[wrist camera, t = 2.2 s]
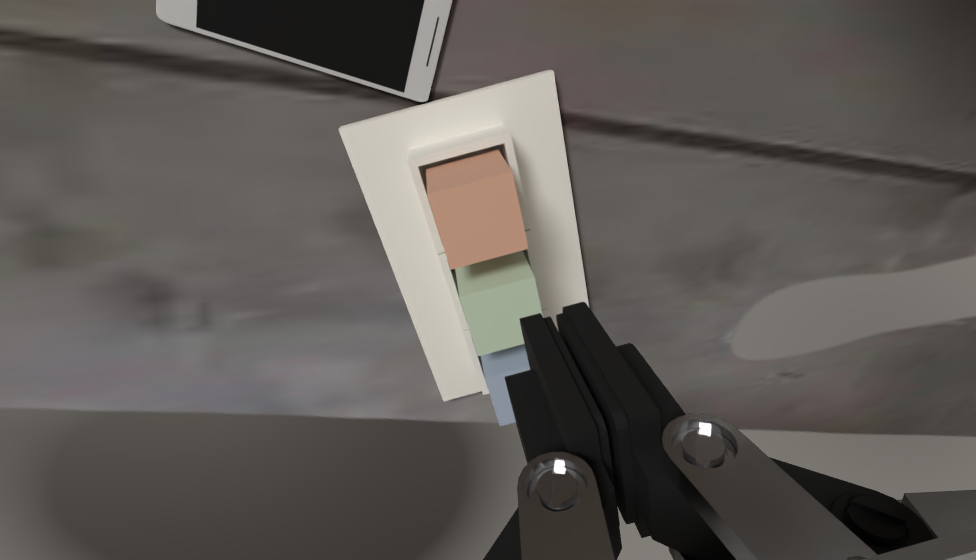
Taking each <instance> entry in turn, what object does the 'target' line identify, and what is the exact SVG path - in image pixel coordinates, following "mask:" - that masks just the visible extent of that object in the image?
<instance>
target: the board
mask: <svg viewBox="0 0 976 560" xmlns="http://www.w3.org/2000/svg"><path fill="white" fill-rule="evenodd" d="M339 132H340V135H341V137H342V140H343V142H344V145H345V148H346V150H347V153H348V155H349V158H350V160H351V163H352V166H353V168H354V171H355V173H356V176H357V179H358V181H359V184H360V186H361V189H362V192H363V194H364V197H365V199H366V202H367V204H368V207H369V210H370V212H371V215H372V217H373V220H374V223H375V225H376V228H377V230H378V233H379V235H380V238H381V241H382V243H383V246H384V248H385V251H386V254H387V256H388V259H389V261H390V264H391V267H392V269H393V272H394V274H395V277H396V279H397V282H398V285H399V287H400V290H401V292H402V295H403V298H404V300H405V303H406V305H407V308H408V311H409V313H410V316H411V318H412V321H413V323H414V326H415V329H416V331H417V334H418V336H419V339H420V342H421V344H422V347H423V349H424V352H425V354H426V357H427V360H428V362H429V365H430V367H431V370H432V373H433V375H434V378H435V380H436V383H437V386H438V388H439V391H440V393H441V396H442V398H443V401H447V400H451V399H454V398H458V397H462V396H466V395H469V394H473V393H477V392H480V391H482V393H483V395H484V394H488V393H489V390H488V387H487V383H486V380H485V376H484V371H483V365H482V360H481V356H478V355H477V352H476V349H475V345H474V342H473V339H472V336H471V333H470V330H469V326H468V323H467V320H466V317H465V314H464V310H463V307H462V304H461V301H460V298H459V291H458V285H457V278H456V271H455V269H452V270H451V269H450V266H449V263H448V260H447V256H446V253H445V250H444V247H443V244H442V241H441V237H440V234H439V231H438V228H437V225H436V222H435V218H434V215H433V212H432V209H431V206H430V202H429V199H428V196H427V181H426V169H428V168H432V167H436V166H439V165H443V164H447V163H450V162H454V161H458V160H462V159H465V158H469V157H473V156H476V155H480V154H484V153H487V152H491V151H495V150H499V152H500V153H501V155H502V156H503V158H504V160H505V161H506V163H507V164H508V166H509V167H510V169H511V171H512V173H513V178H514V183H515V187H516V192H517V197H518V201H519V206H520V211H521V216H522V220H523V225H524V230H525V234H526V239H527V244H528V248H529V249H526V250H523V253H524V255H525V257H526V259H527V261H528V264H529V266H530V268H531V270H532V272H533V275H534V277H535V281H536V286H537V291H538V295H539V300H540V305H541V309H542V314H543V318H546V317H549V316H550V317H551V318H552V320H553V322H554V324H555V326H556V328H557V330H558V326H557V320H556V315H557V314H561V313H563V311H562V309H563V307H565V306H569V305H572V304H576V303H580V302H585V303H586V304H587V305H588V307H589V303H588V296H587V290H586V283H585V277H584V270H583V263H582V257H581V250H580V243H579V237H578V230H577V223H576V217H575V210H574V203H573V197H572V190H571V184H570V177H569V170H568V164H567V157H566V150H565V144H564V137H563V130H562V124H561V117H560V110H559V104H558V97H557V90H556V84H555V77H554V71H552V70H546V71H543V72H539V73H535V74H532V75H528V76H524V77H521V78H517V79H513V80H510V81H506V82H502V83H498V84H495V85H491V86H487V87H484V88H480V89H476V90H473V91H469V92H465V93H462V94H458V95H454V96H451V97H447V98H443V99H440V100H436V101H432V102H429V103H425V104H421V105H418V106H414V107H410V108H406V109H403V110H399V111H395V112H392V113H388V114H384V115H381V116H377V117H373V118H370V119H366V120H362V121H359V122H355V123H351V124H348V125H344V126H341V127H340V128H339Z"/></svg>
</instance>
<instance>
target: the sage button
mask: <svg viewBox="0 0 976 560" xmlns="http://www.w3.org/2000/svg"><path fill="white" fill-rule="evenodd" d="M455 271H456V278H457V285H458V291H459V298H460V301H461V304H462V307H463V310H464V314H465V317H466V320H467V323H468V326H469V330H470V333H471V336H472V339H473V342H474V345H475V349H476V352H477V355H478V356H481V355H485V354H489V353H492V352H496V351H500V350H504V349H507V348H511V347H515V346H518V345H522V344H524V339H523V335H522V330H521V325H520V318H523V317H527V316H531V315H535V314H538V313H541V314H542V309H541V305H540V300H539V295H538V291H537V286H536V281H535V277H534V275H533V272H532V270H531V268H530V266H529V264H528V261H527V259H526V257H525V255H524V253H523V250H522V251H518V252H515V253H511V254H507V255H504V256H500V257H496V258H492V259H489V260H485V261H481V262H478V263H474V264H470V265H467V266H463V267H459V268H456V269H455ZM542 316H543V314H542Z"/></svg>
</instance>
